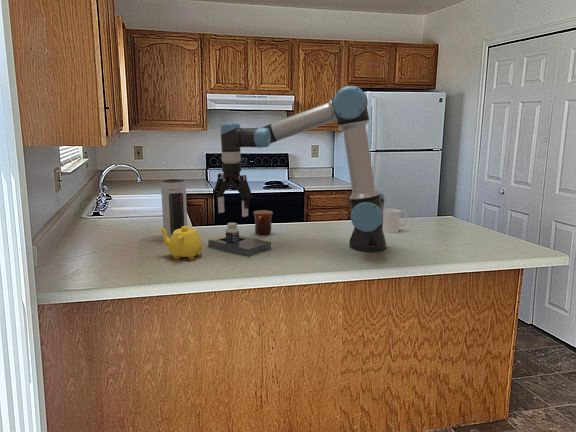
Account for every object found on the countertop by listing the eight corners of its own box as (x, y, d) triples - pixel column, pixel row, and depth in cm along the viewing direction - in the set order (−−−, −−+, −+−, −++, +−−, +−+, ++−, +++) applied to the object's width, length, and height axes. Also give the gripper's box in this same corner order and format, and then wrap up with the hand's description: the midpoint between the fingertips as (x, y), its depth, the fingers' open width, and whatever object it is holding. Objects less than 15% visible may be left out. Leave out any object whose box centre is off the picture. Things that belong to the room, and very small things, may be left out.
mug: (256, 231, 228) (256, 209, 226) (274, 232, 226) (274, 210, 224) (249, 237, 216) (249, 215, 214) (268, 238, 214) (268, 216, 212)
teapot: (189, 249, 196) (188, 220, 194) (210, 256, 186) (210, 226, 184) (158, 255, 187) (157, 225, 184) (179, 264, 177) (178, 232, 174)
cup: (407, 233, 227) (409, 212, 225) (381, 232, 228) (382, 211, 226) (405, 229, 235) (406, 209, 233) (380, 228, 236) (381, 208, 234)
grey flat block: (271, 249, 197) (271, 242, 197) (247, 256, 186) (247, 249, 186) (232, 240, 211) (232, 233, 210) (208, 247, 200) (208, 239, 199)
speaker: (162, 242, 207) (160, 181, 201) (163, 236, 217) (161, 178, 211) (188, 241, 209) (186, 180, 203) (187, 235, 219) (186, 177, 213)
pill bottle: (233, 249, 197) (233, 225, 195) (223, 247, 200) (222, 223, 198) (241, 246, 202) (241, 223, 200) (231, 244, 205) (231, 221, 203)
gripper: (260, 163, 189) (262, 216, 193) (216, 160, 204) (218, 209, 209) (247, 164, 183) (249, 219, 188) (203, 161, 199) (205, 212, 203)
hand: (233, 214), depth 198 cm, fingers open, 13 cm apart
